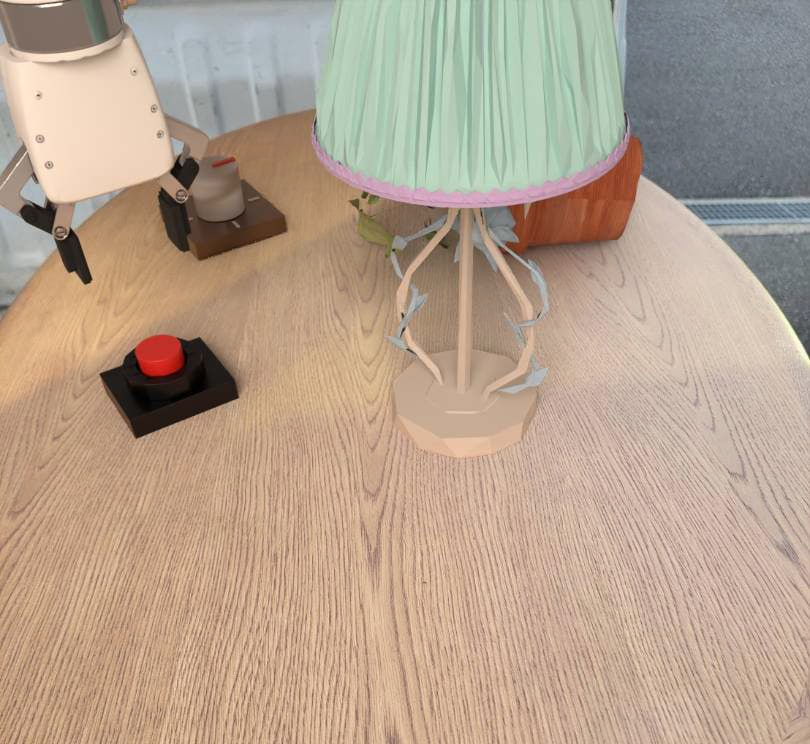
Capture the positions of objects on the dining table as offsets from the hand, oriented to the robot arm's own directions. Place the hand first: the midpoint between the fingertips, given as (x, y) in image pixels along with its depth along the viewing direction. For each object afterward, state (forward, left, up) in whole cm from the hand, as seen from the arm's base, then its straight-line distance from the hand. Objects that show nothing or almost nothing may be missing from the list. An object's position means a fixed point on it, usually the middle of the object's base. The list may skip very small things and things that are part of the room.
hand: (131, 259), depth 70 cm
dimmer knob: (+17, +26, -12) cm, 33 cm away
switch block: (0, 0, -14) cm, 14 cm away
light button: (0, 0, -10) cm, 10 cm away
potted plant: (+37, +6, -14) cm, 40 cm away
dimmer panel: (+17, +26, -14) cm, 34 cm away
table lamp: (+21, -17, -14) cm, 31 cm away
